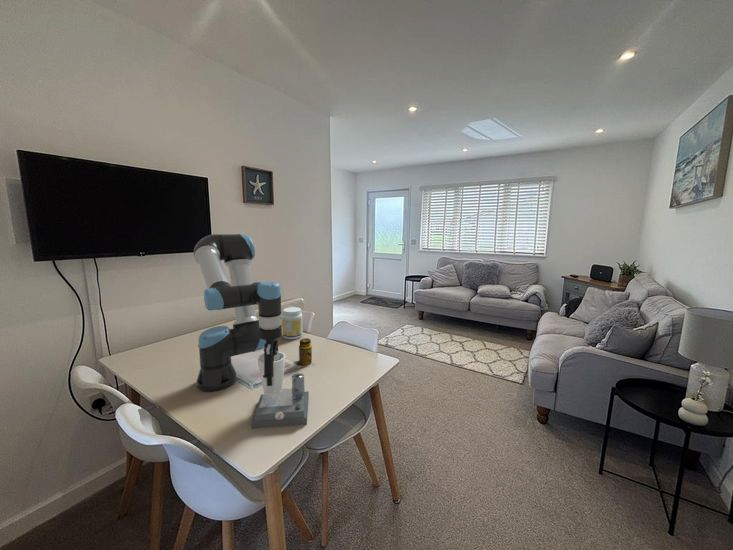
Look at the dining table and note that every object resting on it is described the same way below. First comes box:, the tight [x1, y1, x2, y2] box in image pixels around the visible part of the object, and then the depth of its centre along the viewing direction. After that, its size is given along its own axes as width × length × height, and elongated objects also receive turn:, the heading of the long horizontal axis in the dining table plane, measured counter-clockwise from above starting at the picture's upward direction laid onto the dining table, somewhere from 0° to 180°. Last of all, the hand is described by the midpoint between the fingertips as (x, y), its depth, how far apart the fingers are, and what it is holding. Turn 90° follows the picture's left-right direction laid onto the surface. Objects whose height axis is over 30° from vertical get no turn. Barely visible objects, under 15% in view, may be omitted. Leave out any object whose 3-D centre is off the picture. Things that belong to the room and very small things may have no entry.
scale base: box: [251, 390, 310, 430], centre depth 106 cm, size 18×16×6 cm
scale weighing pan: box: [259, 387, 306, 408], centre depth 108 cm, size 15×11×2 cm
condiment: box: [292, 337, 315, 369], centre depth 143 cm, size 7×8×12 cm
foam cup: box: [257, 351, 286, 395], centre depth 106 cm, size 10×9×13 cm
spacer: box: [291, 372, 305, 400], centre depth 108 cm, size 4×4×8 cm
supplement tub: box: [281, 306, 304, 340], centre depth 177 cm, size 12×12×17 cm
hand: (272, 385), depth 106 cm, fingers closed on foam cup, 9 cm apart
